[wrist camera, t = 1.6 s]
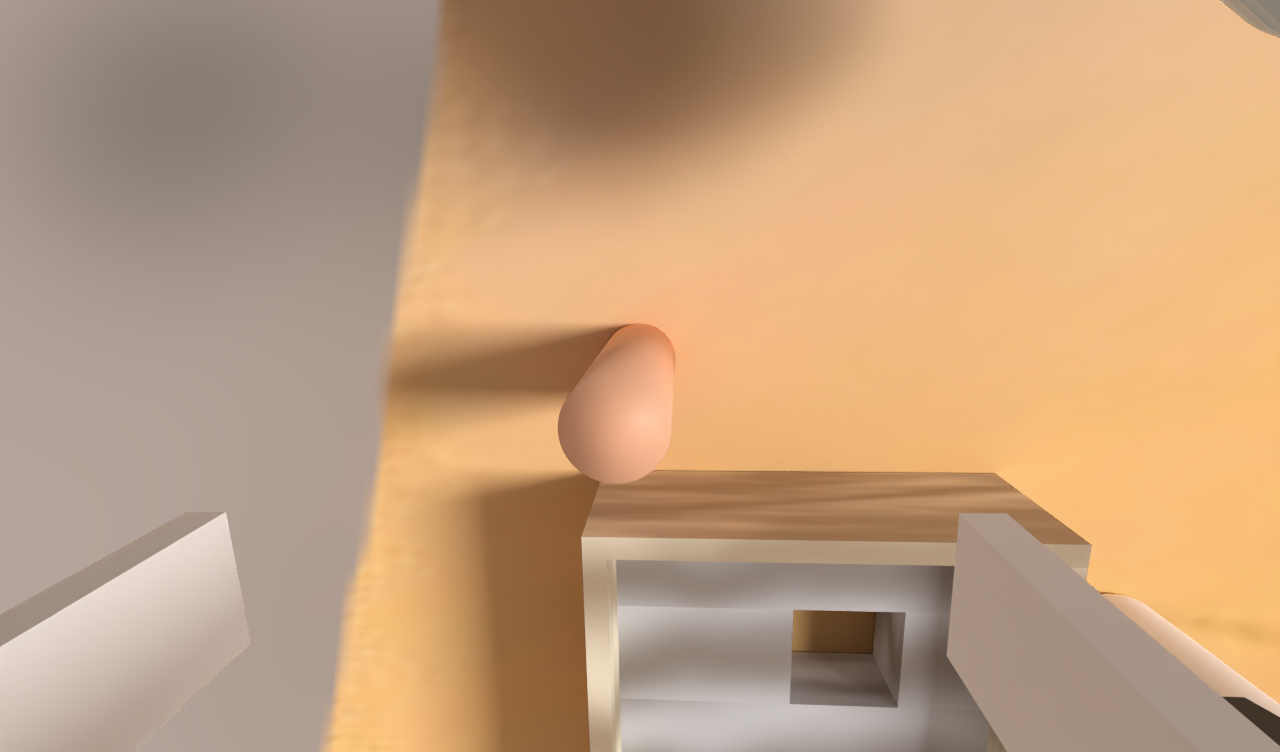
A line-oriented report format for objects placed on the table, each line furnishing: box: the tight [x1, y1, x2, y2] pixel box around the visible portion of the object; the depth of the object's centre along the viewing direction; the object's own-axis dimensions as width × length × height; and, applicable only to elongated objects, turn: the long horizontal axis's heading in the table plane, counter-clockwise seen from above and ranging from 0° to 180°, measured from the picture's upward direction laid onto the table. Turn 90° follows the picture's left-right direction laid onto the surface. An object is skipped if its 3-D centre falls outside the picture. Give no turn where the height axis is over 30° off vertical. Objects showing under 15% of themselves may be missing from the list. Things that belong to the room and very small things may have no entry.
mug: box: [1102, 594, 1280, 717], centre depth 27 cm, size 10×7×12 cm, turn 78°
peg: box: [558, 324, 675, 484], centre depth 25 cm, size 4×4×12 cm
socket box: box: [581, 471, 1092, 752], centre depth 30 cm, size 20×20×8 cm
